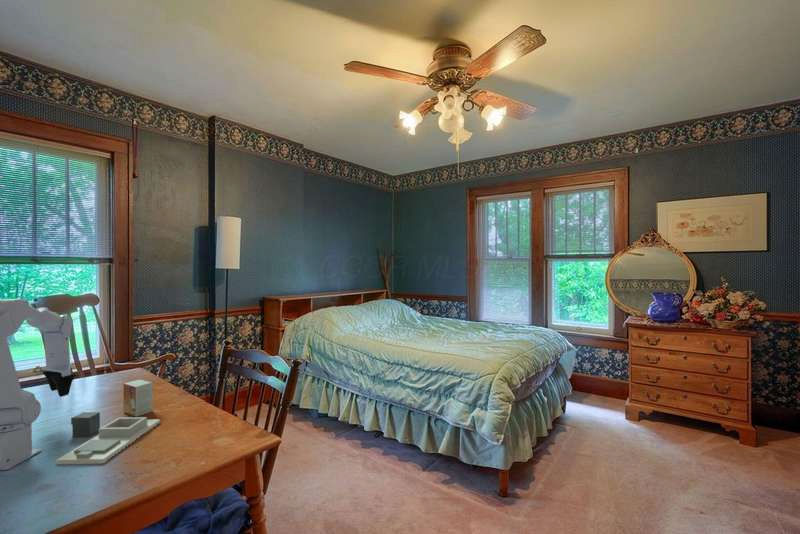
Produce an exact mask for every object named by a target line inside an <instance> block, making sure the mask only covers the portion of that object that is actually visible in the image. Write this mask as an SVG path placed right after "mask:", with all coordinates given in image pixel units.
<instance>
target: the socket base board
mask: <svg viewBox="0 0 800 534" xmlns="http://www.w3.org/2000/svg"><path fill="white" fill-rule="evenodd" d="M158 423H159V424H161V419H159V418H158V419H149V418H148V416H141V417H140V416H138V417H134V416H133V417H132V416H129V417H127V416H126V417H117V418H115V419H113V420H111V421H110V422H108V423H107V424H104V426H102V427H101V426H100V429H98V432H97V433H98V434H97V435H96V436H94V437H91V438H90V439H89V440H87V441H85V442H83V443H82V444H80V445H79V446H78V447H76V448H75V449H73V450H71V451H69V452H67V453H65V454H64V455H62V456H61V457H60V458H57V459H56V465H88V464H89V465H90V464H91V465H93V464H94V465H97V464H98V465H99V464H102V463H104V464H105V463H106V462H108V461H109V460H110V458H111V457H112V456H113V457H114V455H115V454H116V455H117V454H119V453H120V452H122V451H123V450H124V449H125V447H126V446H127V447H128V445H129V444H130V445H131V444H132V442H133V443H134V442H135V440H136V439H137V438H138V439H140V438H141V437H142V436H141V435H143V434H144V433H145V434H147V433H148V432H150V431H151V430H152V429H154V428H155V427H156V426H157V424H158ZM159 424H158V425H159ZM153 427H154V428H153ZM150 429H151V430H150ZM147 431H148V432H147ZM146 432H147V433H146ZM145 434H144V435H145ZM144 435H143V436H144ZM140 436H141V437H140ZM139 437H140V438H139ZM138 439H137V440H138ZM137 440H136V441H137ZM130 445H129V446H130ZM127 447H126V448H127ZM122 449H123V450H122ZM121 450H122V451H121ZM118 452H119V453H118ZM116 455H115V456H116ZM113 457H112V458H113ZM112 458H111V459H112ZM108 459H109V460H108ZM107 460H108V461H107ZM102 465H103V464H102Z"/></svg>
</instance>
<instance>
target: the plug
mask: <svg viewBox="0 0 800 534" xmlns="http://www.w3.org/2000/svg"><path fill="white" fill-rule="evenodd" d="M100 423H101V412H99V411H94V412H92V411H90V412H88V411H87V412H86V411H85V412H83V411H82V412H81V413H79V414H77V415H75V416H73V417H71V418H70V425H72V426H71V427H72V438H92V437H93V436H94V435H95V434H97V433H98V429H100V428H101V425H100Z"/></svg>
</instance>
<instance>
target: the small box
mask: <svg viewBox="0 0 800 534" xmlns="http://www.w3.org/2000/svg"><path fill="white" fill-rule="evenodd" d="M153 387H154V386H153V382H151V381H147V380H144V379H136V380H132V381H128V382H125V383H123V413H125V414H128V415H130V416H131V417H132V416H133V417H134V416H135V417H137V416H138V417H140V415H141V416H143V415H146V414H148V413H152V412H153V410H154V409H153V407H154V405H153V401H154V400H153V399H154V397H153Z"/></svg>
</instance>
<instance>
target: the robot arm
mask: <svg viewBox="0 0 800 534" xmlns="http://www.w3.org/2000/svg"><path fill="white" fill-rule="evenodd" d="M25 321H26V324H27V325H28V326H30V327H33V328H35V329H38V332H39V333H40V334H41V335H42V334H43V337H44V352H45V353H44V354H45V369H43V370H41V373H42V375H44V376H45V379H46V381H47V382H48V386H49V389H50V390H51V392H54V391H56V392H57V394H58V396H59V398H61V397H65V396H69V393H70V391H71V386H72V383H73V381H74V379H75V377H76V376H77V372H72V371H71V367H72V366H74V365H75V364H76V362H75V361H71V352H70V351H71V350H70V339H69V338H70V337H71V334H72V333H71V331H72V328H73V320H72V318H71V317H70V316H69V315H66V314H58V313H57V312H56V311H51V310H49V307H45V306H43V307H42V306H41V307H38V308H35V307H33V306H31V305H30V302H29V300H27V299H24V298H10V299H9V298H7V299H6V298H5V299H4V298H3V299H2V298H1V299H0V471H7V470H10V469H11V468H13V467H15V466H17V465H19V464H20V463H23V462H24V461H26V460H27V459H29V458H31V457H33V456H35V455H37V454H38V453H40V452H42V449H41V448H39V449H38V448H36V449H33V433H32V432H33V431H32V429H33V427H32V424H33V423H35V422H36V421H37V419H38V418H39V416H40V414H41V410H42V409H41V408H42V405H41V403H40V401H39V400H38V399H37V398H36V396H35V393H33V392H31V391H28V390H25V389H23V388H22V387H21V386H22V385H21V384H20V383H21V382H20V380H19V377H18V376H19V375H18V372H17V370H16V366H15V362H14V360H13V356H12V353H11V348H10V346H9V343H8V337H10V336H12V335H14V334H16V333H17V332H18V331H19V329H20V328H21V326H22V325H23V323H24V322H25Z"/></svg>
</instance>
